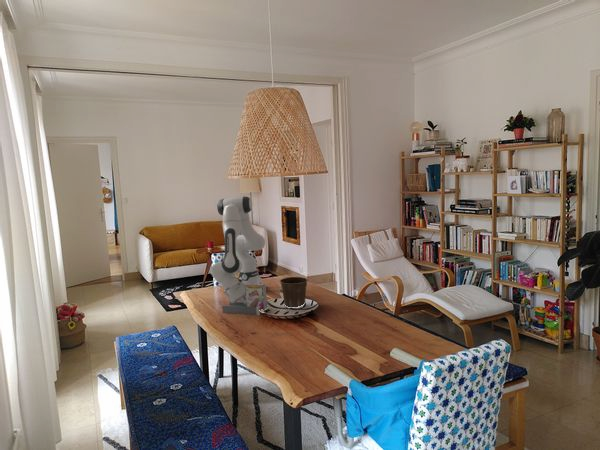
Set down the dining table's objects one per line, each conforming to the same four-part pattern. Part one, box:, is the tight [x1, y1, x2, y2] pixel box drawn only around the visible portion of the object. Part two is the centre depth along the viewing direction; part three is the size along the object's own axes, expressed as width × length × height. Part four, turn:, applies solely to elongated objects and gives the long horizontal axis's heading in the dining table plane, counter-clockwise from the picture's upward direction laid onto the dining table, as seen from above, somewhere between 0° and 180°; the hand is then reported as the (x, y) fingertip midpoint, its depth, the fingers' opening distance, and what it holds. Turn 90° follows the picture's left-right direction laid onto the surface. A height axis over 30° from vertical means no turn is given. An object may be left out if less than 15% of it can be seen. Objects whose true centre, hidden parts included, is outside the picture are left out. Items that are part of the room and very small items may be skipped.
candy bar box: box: [245, 283, 268, 315], centre depth 256 cm, size 11×5×16 cm, turn 71°
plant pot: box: [279, 276, 309, 307], centre depth 264 cm, size 16×16×16 cm
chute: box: [221, 300, 269, 316], centre depth 260 cm, size 12×24×5 cm, turn 70°
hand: (247, 303), depth 259 cm, fingers closed, pressing on candy bar box
